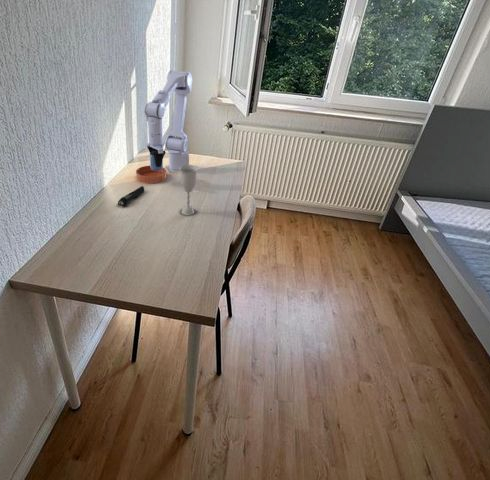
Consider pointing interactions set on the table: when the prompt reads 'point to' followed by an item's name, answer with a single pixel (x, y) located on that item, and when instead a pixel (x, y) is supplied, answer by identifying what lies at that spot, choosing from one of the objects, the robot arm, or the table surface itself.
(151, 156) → the blue cup
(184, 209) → the chalice
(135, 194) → the electric trimmer
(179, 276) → the table surface
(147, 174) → the bowl
